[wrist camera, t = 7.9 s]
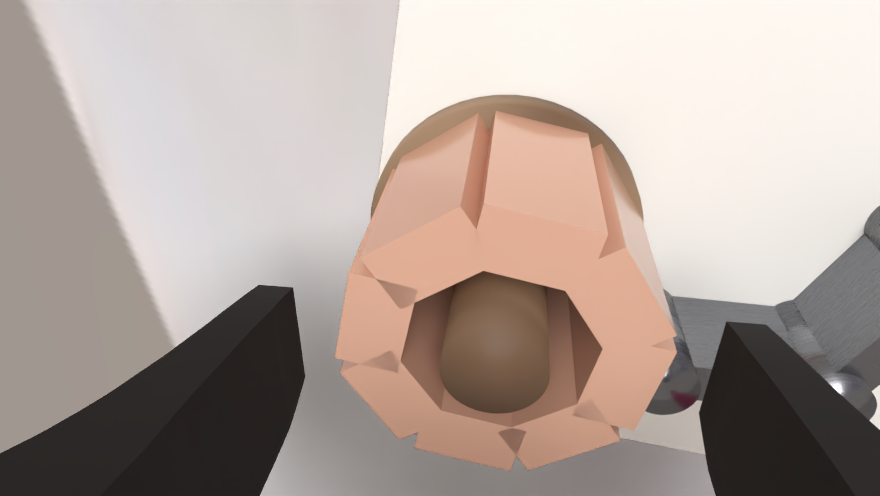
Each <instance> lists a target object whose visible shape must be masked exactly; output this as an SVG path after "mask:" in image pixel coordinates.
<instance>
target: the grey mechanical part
mask: <svg viewBox="0 0 880 496" xmlns="http://www.w3.org/2000/svg"><path fill="white" fill-rule="evenodd" d="M663 290H664V294H665V297H666V300H667V304H668V307H669V310H670V314H671V317H672V320H673V324H674V327H675V330H676V334H677V336H675V337H673V340H674V344H675V347H676V350H677V354H676V355H675V357H674V359H673V361H672V363H671V365H670V366H669V368H668V370H667V372H666V374H665V376H664V377H663V379H662V381H661V383H660V385H659V386H658V388H657V390H656V392H655V394H654V396H653V397H652V399H651V401H650V403H649V405H648V407H647V408H646V410H645V411H646V412H648V413H652V414H657V415H670V414H675V413H679V412H682V411H684V410H686V409H688V408H689V407H691V406H692V405H693V404H694V403H695V402H696V401H697V400H699V401H703V397H704V394H705V391H706V387H707V384H708V381H709V377H710V374H711V371H712V367H713V364H714V361H715V358H716V354H717V351H718V348H719V344H720V341H721V338H722V334H723V331H724V328H725V324H726V321H727V322H740V323H753V324H766V325H767V326H768V327H769V328H771V329H772V330H773V331H774V332H775V333H776V334H777V335H778V336H779V337H781V338H782V339H783V340H784V341H785V342H786V343H787V344H788V345H789V346H790V347H791V348H792V349H793V350H794V351H795V352H796V353H798V354H799V355H800V356H801V357H802V358H803V359H804V360H805V361H806V362H807V363H808V364H809V365H810V366H811V367H812V368H813V369H814V370H815V371H816V372H817V373H819V374H820V375H821V376H822V377H823V378H824V379H825V380H826V381H827V382H828V383H829V384H830V385H831V386H832V387H833V388H834V389H835V390H837V391H838V392H839V393H840V394H841V395H842V396H843V397H844V398H845V399H846V400H847V401H848V402H849V403H851V404H852V405H853V406H854V407H855V408H856V409H857V410H858V411H859V412H860V413H862V414H863V415H864V416H865V417H866V418H867V419H868V420H870V419H871V418H872V417H873V416H874V414H875V412H876V409H877V400H876V398H875V396H874V394H873V393H872V391H873V390H874V389H875V388H876V387H878V386H879V385H880V206H878V207H877V208H876V209H875V210H874V211H873V212H872V213H871V214H870V216H869V217H868V219H867V221H866V223H865V227H864V234H863V235H862V236H861V237H860V238H859V239H858V240H857V241H856V242H854V243H853V244H852V245H851V246H850V247H849V248H848V249H847V250H846V251H845V252H844V253H843V254H842V255H841V256H839V257H838V258H837V259H836V260H835V261H834V262H833V263H832V264H831V265H830V266H829V267H828V268H827V269H825V270H824V271H823V272H822V273H821V274H820V275H819V276H818V277H817V278H816V279H815V280H814V281H813V282H812V283H810V284H809V285H808V286H807V287H806V288H805V289H804V290H803V291H802V292H801V293H800V294H799V295H798V296H797V297H795V298H794V299H793V300H789V301H785V302H782V303H779V304H777V305H775V306H768V305H758V304H748V303H738V302H728V301H718V300H708V299H698V298H688V297H678V296H671V294H670V293H669V292H668V291H666V290H665V289H663Z"/></svg>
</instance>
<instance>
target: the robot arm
mask: <svg viewBox="0 0 880 496" xmlns="http://www.w3.org/2000/svg"><path fill="white" fill-rule="evenodd" d="M304 379H305V372H304V365H303V358H302V350H301V343H300V336H299V328H298V321H297V314H296V307H295V299H294V292H293V288H291V287H278V286H265V285H258V286H257V287H255V288H254V289H253V290H251V291H250V292H248V293H247V294H246V295H244V296H243V297H242V298H240V299H239V300H238V301H236V302H235V303H234V304H232V305H231V306H230V307H228V308H227V309H226V310H225V311H223V312H222V313H221V314H219V315H218V316H217V317H215V318H214V319H213V320H212V321H210V322H209V323H208V324H206V325H205V326H204V327H202V328H201V329H200V330H198V331H197V332H196V333H194V334H193V335H192V336H190V337H189V338H188V339H186V340H185V341H184V342H182V343H181V344H179V345H178V346H177V347H175V348H174V349H173V350H171V351H170V352H169V353H167V354H166V355H164V356H163V357H162V358H160V359H159V360H157V361H156V362H154V363H153V364H151V365H150V366H148V367H147V368H146V369H144V370H142V371H141V372H139V373H138V374H137V375H135V376H134V377H132V378H131V379H129V380H128V381H126V382H125V383H123V384H122V385H120V386H119V387H117V388H116V389H114V390H113V391H112V392H110V393H108V394H107V395H105V396H103V397H102V398H100V399H99V400H97V401H96V402H94V403H92V404H90V405H89V406H87V407H86V408H84V409H82V410H80V411H79V412H77V413H75V414H73V415H72V416H70V417H68V418H66V419H65V420H63V421H61V422H59V423H58V424H56V425H54V426H52V427H51V428H49V429H47V430H46V431H43V432H42V433H40V434H38V435H36V436H34V437H32V438H30V439H28V440H26V441H24V442H22V443H20V444H18V445H16V446H14V447H12V448H10V449H9V450H6V451H4V452H2V453H0V496H260V494H261V492H262V489H263V487H264V485H265V483H266V481H267V478H268V476H269V474H270V472H271V470H272V467H273V465H274V463H275V461H276V458H277V456H278V454H279V452H280V449H281V447H282V445H283V443H284V440H285V438H286V436H287V433H288V431H289V429H290V426H291V422H292V419H293V416H294V413H295V410H296V407H297V403H298V400H299V396H300V393H301V389H302V386H303V382H304ZM699 417H700V424H701V430H702V437H703V443H704V449H705V455H706V460H707V466H708V471H709V474H710V478H711V481H712V485H713V488H714V491H715V494H716V496H880V430H879V429H878V428H877V427H876V426H875V425H874V424H873V423H872V422H870V421H869V420H868V419H867V418H866V417H865V416H864V415H863V414H862V413H860V412H859V411H858V410H857V409H856V408H855V407H854V406H853V405H852V404H851V403H849V402H848V401H847V400H846V399H845V398H844V397H843V396H842V395H841V394H840V393H839V392H838V391H837V390H835V389H834V388H833V387H832V386H831V385H830V384H829V383H828V382H827V381H826V380H825V379H824V378H823V377H822V376H821V375H820V374H819V373H817V372H816V371H815V370H814V369H813V368H812V367H811V366H810V365H809V364H808V363H807V362H806V361H805V360H804V359H803V358H802V357H801V356H800V355H799V354H798V353H796V352H795V351H794V350H793V349H792V348H791V347H790V346H789V345H788V344H787V343H786V342H785V341H784V340H783V339H782V338H781V337H779V336H778V335H777V334H776V333H775V332H774V331H773V330H772V329H771V328H769V327H768V326H767V325H766V324H753V323H740V322H727V321H726V324H725V328H724V331H723V334H722V338H721V341H720V344H719V348H718V351H717V354H716V358H715V361H714V364H713V367H712V371H711V374H710V377H709V381H708V384H707V387H706V391H705V394H704V397H703V401H702V404H701V407H700V411H699Z"/></svg>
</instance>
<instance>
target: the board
mask: <svg viewBox="0 0 880 496" xmlns="http://www.w3.org/2000/svg"><path fill="white" fill-rule="evenodd" d="M490 95H522V96H530V97H536V98H540V99H544V100H548V101H552V102H555V103H557V104H560V105H562V106H565V107H567V108H570V109H572V110H574V111H575V112H577V113H579V114H580V115H582V116H584V117H586V118H587V119H589V120H590V121H591V122H593V123H594V124H595V125H596V126H598V127H599V128H600V129H602V130H603V131H604V132H605V133H606V135H607V136H608V137H609V138H610V139H611V140H612V141H613V142H614V143H615V144H616V146H617V147H618V148H619V150H620V151H621V153H622V154H623V155H624V157H625V159H626V161H627V163H628V165H629V167H630V169H631V171H632V174H633V177H634V179H635V182H636V185H637V189H638V192H639V195H640V198H641V203H642V209H643V220H644V227H645V230H646V233H647V237H648V240H649V244H650V247H651V250H652V254H653V257H654V260H655V264H656V267H657V270H658V274H659V277H660V280H661V284H662V287H663V289H665V290H666V291H668V292H669V293H670V294H671V296H678V297H688V298H698V299H708V300H718V301H728V302H738V303H748V304H758V305H768V306H775V305H777V304H779V303H782V302H785V301H789V300H793V299H794V298H795V297H797V296H798V295H799V294H800V293H801V292H802V291H803V290H804V289H805V288H806V287H807V286H808V285H809V284H810V283H812V282H813V281H814V280H815V279H816V278H817V277H818V276H819V275H820V274H821V273H822V272H823V271H824V270H825V269H827V268H828V267H829V266H830V265H831V264H832V263H833V262H834V261H835V260H836V259H837V258H838V257H839V256H841V255H842V254H843V253H844V252H845V251H846V250H847V249H848V248H849V247H850V246H851V245H852V244H853V243H854V242H856V241H857V240H858V239H859V238H860V237H861V236H862V235H863V234H864V227H865V223H866V221H867V219H868V217H869V216H870V214H871V213H872V212H873V211H874V210H875V209H876V208H877V207H878V206H880V0H400V5H399V14H398V22H397V30H396V39H395V47H394V55H393V64H392V72H391V80H390V89H389V97H388V105H387V114H386V122H385V131H384V139H383V147H382V156H381V164H380V172H379V179H380V176H381V174H382V172H383V170H384V168H385V166H386V164H387V162H388V160H389V158H390V156H391V154H392V153H393V151H394V150H395V149H396V147H397V146H398V145H399V143H400V142H401V140H402V139H403V138H404V137H405V136H406V135H407V134H408V133H409V132H410V131H411V130H412V129H413V128H414V127H416V126H417V125H418V124H420V123H421V122H422V121H424V120H425V119H426V118H427V117H429V116H431V115H433V114H434V113H436V112H438V111H440V110H442V109H443V108H446V107H448V106H451V105H453V104H456V103H458V102H461V101H465V100H469V99H473V98H476V97H483V96H490ZM872 393H873V394H874V396H875V398H876V400H877V409H876V412H875V414H874V416H873V417H872V418H871V419H870V420H869V421H870V422H872V423H873V424H874V425H875V426H876V427H877V428H878V429H879V430H880V385H879V386H878V387H876V388H875V389H874V390H873V391H872ZM701 404H702V401H699V400H697V401H696V402H695V403H694V404H693V405H692V406H691V407H689V408H688V409H686V410H684V411H682V412H679V413H675V414H670V415H657V414H652V413H648V412H646V411H645V412H644V414H643V416H642V418H641V419H640V421H639V423H638V425H637V427H636V428H635V430H630V429H626V428H621V427H619V433H620V438H624V439H629V440H634V441H639V442H644V443H649V444H654V445H659V446H664V447H669V448H673V449H678V450H683V451H688V452H693V453H698V454H703V455H705V449H704V443H703V437H702V430H701V424H700V417H699V411H700V407H701Z"/></svg>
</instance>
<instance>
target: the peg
mask: <svg viewBox="0 0 880 496" xmlns="http://www.w3.org/2000/svg"><path fill="white" fill-rule="evenodd" d="M496 111H499V112H503V113H507V114H511V115H515V116H520V117H524V118H528V119H532V120H536V121H540V122H544V123H548V124H552V125H556V126H560V127H564V128H568V129H572V130H576V131H580V132H584V133H588V135H589V140H590V145H591V149H592V148H594V147H596V146H598V145H599V144H601V143H602V145H603V147H604V149H605V151H606V153H607V154H608V156H609V158H610V160H611V162H612V164H613V165H614V167H615V169H616V171H617V173H618V174H619V176H620V178H621V180H622V182H623V184H624V185H625V187H626V189H627V191H628V193H629V195H630V196H631V198H632V200H633V202H634V204H635V205H636V207H637V209H638V211H639V213H640V215H641V217H642V220H643V209H642V203H641V198H640V195H639V192H638V189H637V185H636V182H635V179H634V177H633V174H632V171H631V169H630V167H629V165H628V163H627V161H626V159H625V157H624V155H623V154H622V153H621V151H620V150H619V148H618V147H617V146H616V144H615V143H614V142H613V141H612V140H611V139H610V138H609V137H608V136H607V135H606V133H605V132H604V131H603V130H602V129H600V128H599V127H598V126H596V125H595V124H594V123H593V122H591V121H590V120H589V119H587V118H586V117H584V116H582V115H580V114H579V113H577V112H575V111H574V110H572V109H570V108H567V107H565V106H562V105H560V104H557V103H555V102H552V101H548V100H544V99H540V98H536V97H530V96H522V95H490V96H483V97H476V98H473V99H469V100H465V101H461V102H458V103H456V104H453V105H451V106H448V107H446V108H443V109H442V110H440V111H438V112H436V113H434V114H433V115H431V116H429V117H427V118H426V119H425V120H424V121H422V122H421V123H420V124H418V125H417V126H416V127H414V128H413V129H412V130H411V131H410V132H409V133H408V134H407V135H406V136H405V137H404V138H403V139H402V140H401V142H400V143H399V145H398V146H397V147H396V149H395V150H394V151H393V153H392V154H391V156H390V158H389V160H388V162H387V164H386V166H385V168H384V170H383V172H382V174H381V176H380V179H379V181H378V184H377V187H376V190H375V193H374V197H373V202H372V207H371V219H372V216H373V214H374V212H375V209H376V207H377V205H378V202H379V200H380V198H381V195H382V193H383V191H384V188H385V186H386V184H387V181H388V179H389V177H390V174H391V172H392V169H397V167H398V164H399V162H400V159H401V157H402V156H404V155H406V154H407V153H409V152H411V151H413V150H414V149H416V148H418V147H420V146H421V145H423V144H425V143H427V142H428V141H430V140H432V139H434V138H435V137H437V136H439V135H441V134H442V133H444V132H446V131H448V130H449V129H451V128H453V127H455V126H456V125H458V124H460V123H462V122H464V121H465V120H467V119H469V118H471V117H472V116H474V115H476V114H478V113H479V115H480V116H481V118H482V119H483V121H484V123H485V124H486V126H487V127H488V129H489V131H490V130H491V127H492V123H493V119H494V116H495V112H496ZM643 223H644V220H643ZM439 369H440V377H441V380H442V383H443V385H444V387H445V389H446V390H447V391H448V392H449V394H450V395H451V396H452V397H453V398H454V399H456V400H457V401H458V402H460V403H461V404H463V405H465V406H467V407H469V408H471V409H474V410H477V411H481V412H486V413H496V414H500V413H511V412H515V411H519V410H521V409H524V408H526V407H528V406H530V405H532V404H533V403H535V402H536V401H537V400H538V399H539V398H540V397H541V396H542V395H543V394H544V392H545V391H546V389H547V386H548V383H549V379H550V364H549V337H548V310H547V286H544V285H539V284H535V283H531V282H527V281H523V280H519V279H515V278H511V277H507V276H503V275H499V274H495V273H490V272H486V271H482V272H480V273H478V274H476V275H474V276H471V277H469V278H467V279H465V280H463V281H461V282H458V283H456V284H454V286H453V292H452V298H451V303H450V309H449V315H448V321H447V326H446V332H445V338H444V344H443V349H442V355H441V361H440V368H439Z"/></svg>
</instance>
